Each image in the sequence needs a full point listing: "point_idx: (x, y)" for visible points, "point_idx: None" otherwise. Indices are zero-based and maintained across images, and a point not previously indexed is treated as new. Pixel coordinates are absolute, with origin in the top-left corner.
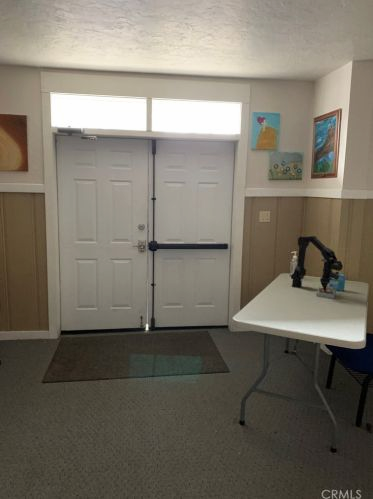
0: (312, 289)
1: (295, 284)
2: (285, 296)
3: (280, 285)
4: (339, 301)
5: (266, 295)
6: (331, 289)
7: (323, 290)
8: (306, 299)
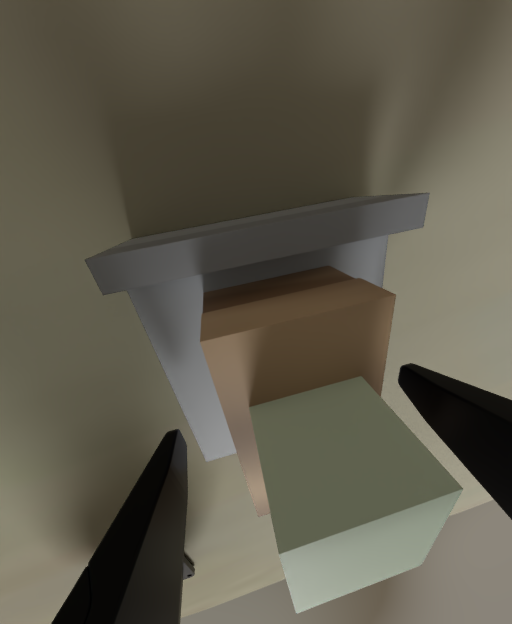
0: (124, 498)
1: (181, 590)
2: None
3: (221, 586)
4: (467, 56)
5: (454, 505)
6: (386, 302)
7: (202, 417)
8: (477, 382)
